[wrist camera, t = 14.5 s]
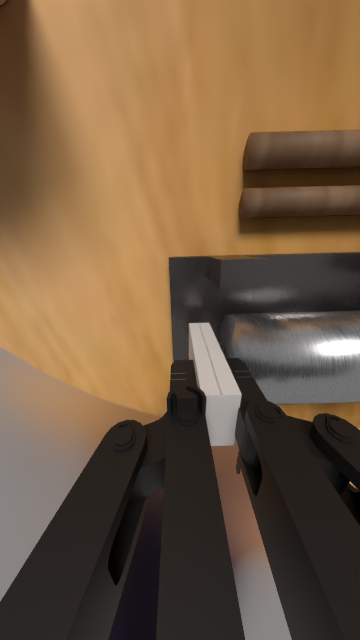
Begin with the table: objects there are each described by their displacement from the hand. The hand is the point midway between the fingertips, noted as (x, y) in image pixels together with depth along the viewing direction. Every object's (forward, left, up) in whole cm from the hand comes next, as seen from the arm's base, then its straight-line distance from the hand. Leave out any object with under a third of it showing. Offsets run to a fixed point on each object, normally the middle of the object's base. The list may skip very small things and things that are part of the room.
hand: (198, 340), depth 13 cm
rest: (-10, +8, -3) cm, 13 cm away
